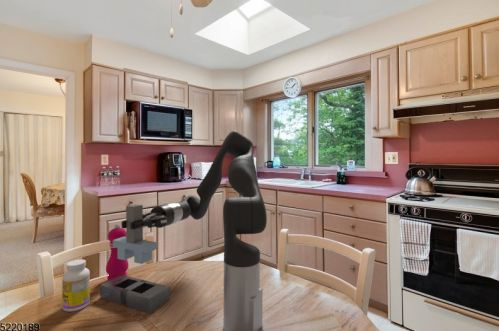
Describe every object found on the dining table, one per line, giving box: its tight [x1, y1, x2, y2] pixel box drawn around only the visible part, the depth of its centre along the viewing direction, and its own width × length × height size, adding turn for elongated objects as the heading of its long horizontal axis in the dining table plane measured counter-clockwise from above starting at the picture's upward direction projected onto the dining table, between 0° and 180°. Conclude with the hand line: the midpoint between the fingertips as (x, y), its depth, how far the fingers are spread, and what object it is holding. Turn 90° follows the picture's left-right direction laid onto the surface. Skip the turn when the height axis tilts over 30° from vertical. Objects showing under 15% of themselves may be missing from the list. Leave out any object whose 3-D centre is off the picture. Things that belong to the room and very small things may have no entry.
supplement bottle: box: [61, 259, 91, 312], centre depth 75 cm, size 7×7×13 cm
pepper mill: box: [105, 223, 129, 282], centre depth 92 cm, size 7×7×20 cm
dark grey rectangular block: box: [99, 275, 170, 314], centre depth 80 cm, size 20×8×4 cm, turn 66°
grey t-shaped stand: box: [113, 203, 158, 265], centre depth 80 cm, size 14×4×16 cm, turn 66°
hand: (126, 225), depth 77 cm, fingers closed on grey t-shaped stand, 3 cm apart
